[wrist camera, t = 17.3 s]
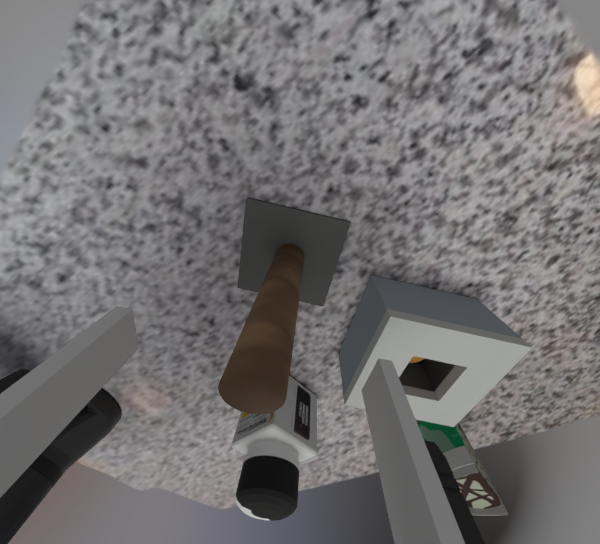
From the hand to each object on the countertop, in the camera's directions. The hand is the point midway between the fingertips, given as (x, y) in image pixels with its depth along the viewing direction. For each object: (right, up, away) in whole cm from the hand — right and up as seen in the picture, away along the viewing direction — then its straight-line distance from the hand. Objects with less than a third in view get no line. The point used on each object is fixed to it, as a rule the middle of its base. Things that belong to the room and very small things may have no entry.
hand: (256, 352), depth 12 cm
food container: (+21, -16, +22) cm, 34 cm away
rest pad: (+1, +6, +11) cm, 13 cm away
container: (0, -14, +22) cm, 26 cm away
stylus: (+1, +6, +11) cm, 13 cm away
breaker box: (+15, -2, +15) cm, 21 cm away
